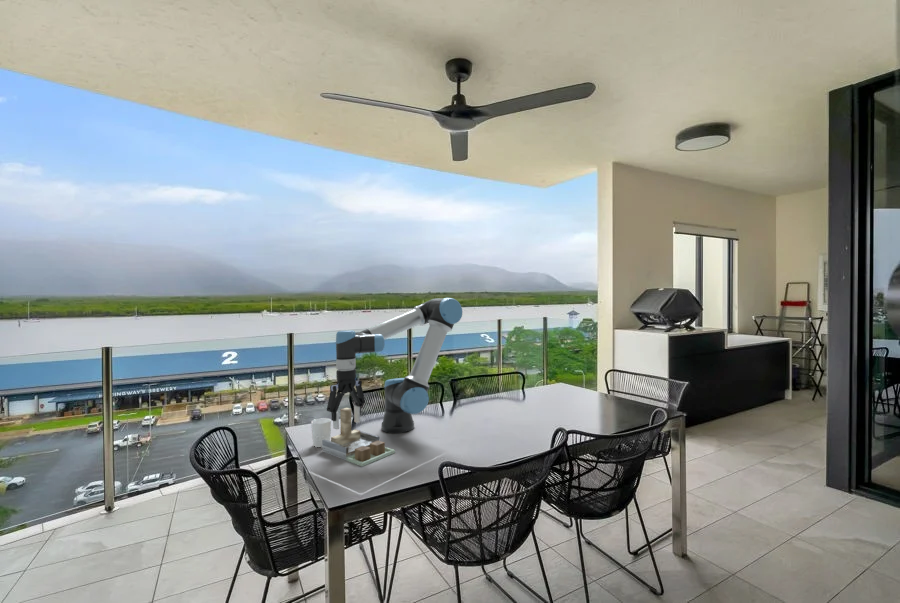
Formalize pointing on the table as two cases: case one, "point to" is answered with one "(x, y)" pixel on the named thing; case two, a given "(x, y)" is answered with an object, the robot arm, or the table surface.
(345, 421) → the light wood block tower
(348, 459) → the tray
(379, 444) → the walnut cube
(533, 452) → the table surface
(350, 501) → the table surface
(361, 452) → the walnut cube
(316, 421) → the white cup
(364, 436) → the bed
